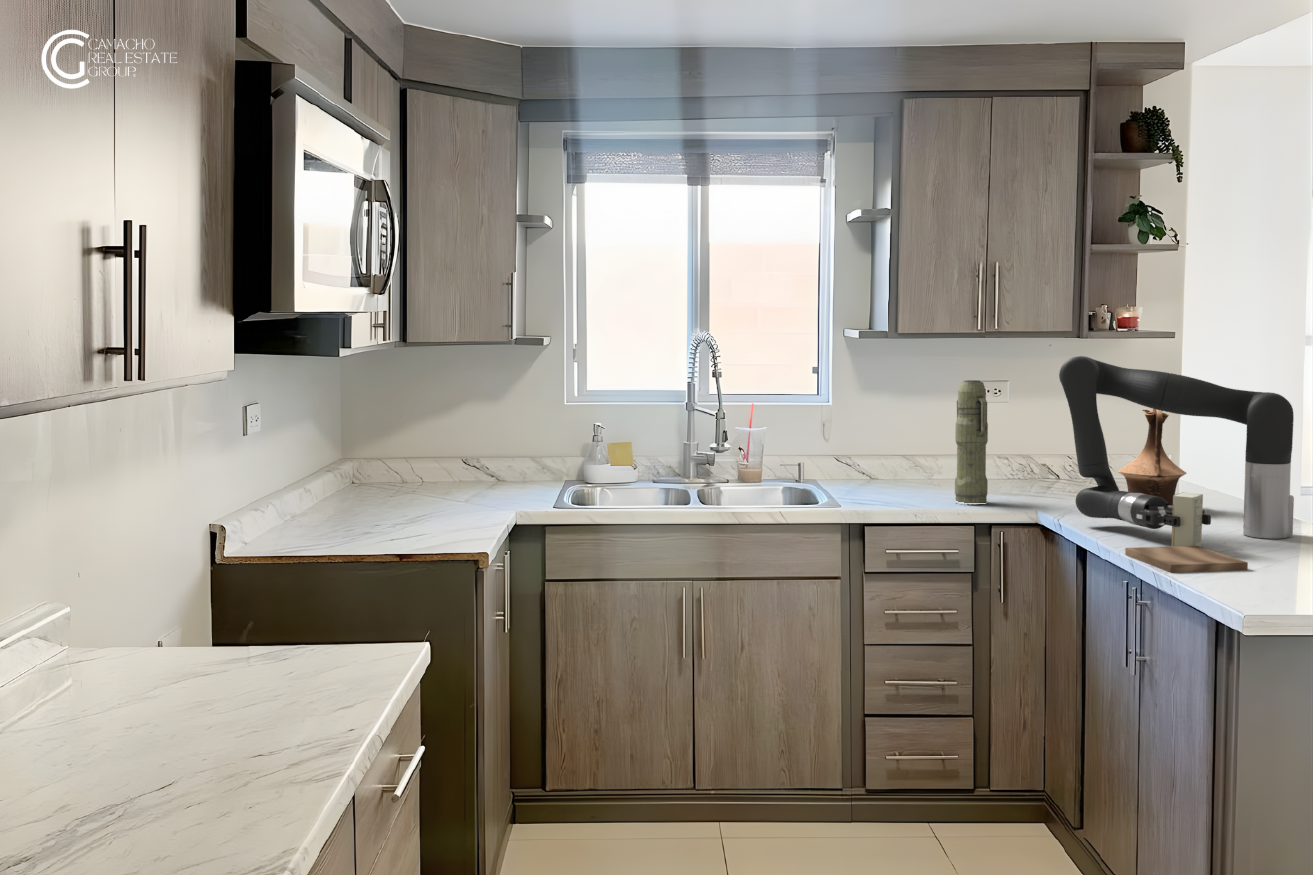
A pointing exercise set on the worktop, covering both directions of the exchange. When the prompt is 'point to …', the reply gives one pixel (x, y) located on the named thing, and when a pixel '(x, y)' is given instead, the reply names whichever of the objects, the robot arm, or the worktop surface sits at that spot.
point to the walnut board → (1186, 559)
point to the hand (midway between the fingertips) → (1194, 521)
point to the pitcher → (1153, 464)
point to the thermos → (971, 443)
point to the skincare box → (1187, 519)
